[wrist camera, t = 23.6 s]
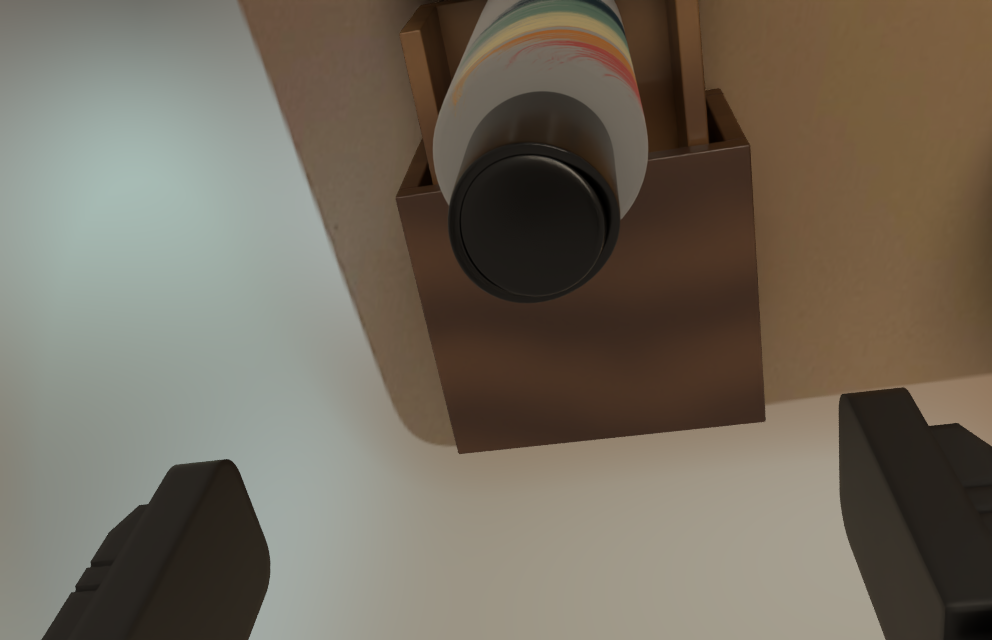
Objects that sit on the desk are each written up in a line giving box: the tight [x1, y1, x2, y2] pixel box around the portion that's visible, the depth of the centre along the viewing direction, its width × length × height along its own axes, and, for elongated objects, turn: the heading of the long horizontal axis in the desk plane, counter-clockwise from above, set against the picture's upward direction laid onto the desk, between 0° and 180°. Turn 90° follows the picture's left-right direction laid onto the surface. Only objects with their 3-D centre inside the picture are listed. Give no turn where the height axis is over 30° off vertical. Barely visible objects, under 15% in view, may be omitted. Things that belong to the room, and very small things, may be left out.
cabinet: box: [396, 88, 766, 454], centre depth 41 cm, size 12×13×8 cm
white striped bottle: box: [433, 0, 648, 303], centre depth 29 cm, size 6×6×20 cm
